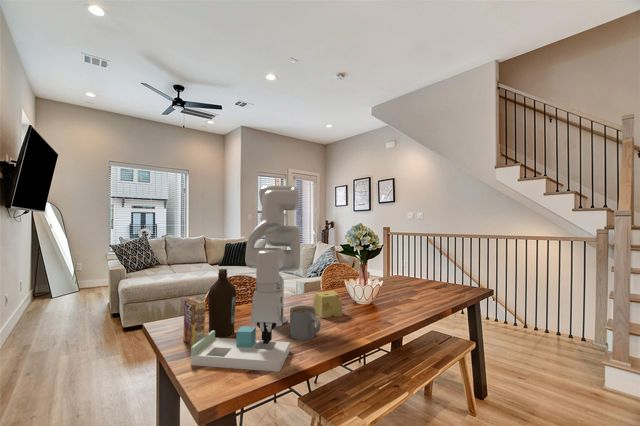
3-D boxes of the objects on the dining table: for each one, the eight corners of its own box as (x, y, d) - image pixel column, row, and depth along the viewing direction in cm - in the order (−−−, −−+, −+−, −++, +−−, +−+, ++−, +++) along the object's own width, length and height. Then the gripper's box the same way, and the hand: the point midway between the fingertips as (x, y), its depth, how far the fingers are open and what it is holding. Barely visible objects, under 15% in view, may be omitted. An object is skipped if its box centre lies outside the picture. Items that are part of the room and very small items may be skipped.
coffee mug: (284, 334, 118) (285, 308, 118) (304, 328, 125) (305, 304, 125) (305, 345, 108) (306, 317, 108) (326, 338, 115) (326, 311, 115)
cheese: (342, 316, 141) (342, 295, 141) (320, 319, 137) (321, 297, 137) (333, 310, 150) (333, 290, 150) (313, 312, 146) (313, 291, 146)
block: (241, 340, 104) (241, 326, 104) (255, 341, 103) (255, 326, 103) (236, 346, 99) (236, 331, 99) (251, 347, 98) (251, 332, 98)
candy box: (205, 344, 108) (206, 301, 108) (193, 347, 104) (194, 303, 105) (194, 337, 114) (195, 296, 114) (182, 340, 111) (183, 299, 111)
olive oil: (205, 339, 112) (207, 272, 112) (208, 329, 122) (210, 267, 123) (235, 337, 114) (236, 271, 115) (235, 327, 125) (237, 267, 125)
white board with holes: (212, 346, 106) (212, 330, 106) (289, 351, 103) (289, 335, 103) (190, 365, 92) (190, 347, 92) (279, 371, 89) (279, 353, 89)
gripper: (291, 285, 104) (290, 339, 103) (249, 284, 105) (248, 336, 105) (286, 290, 96) (285, 348, 96) (241, 289, 98) (240, 345, 97)
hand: (266, 342), depth 100 cm, fingers closed
